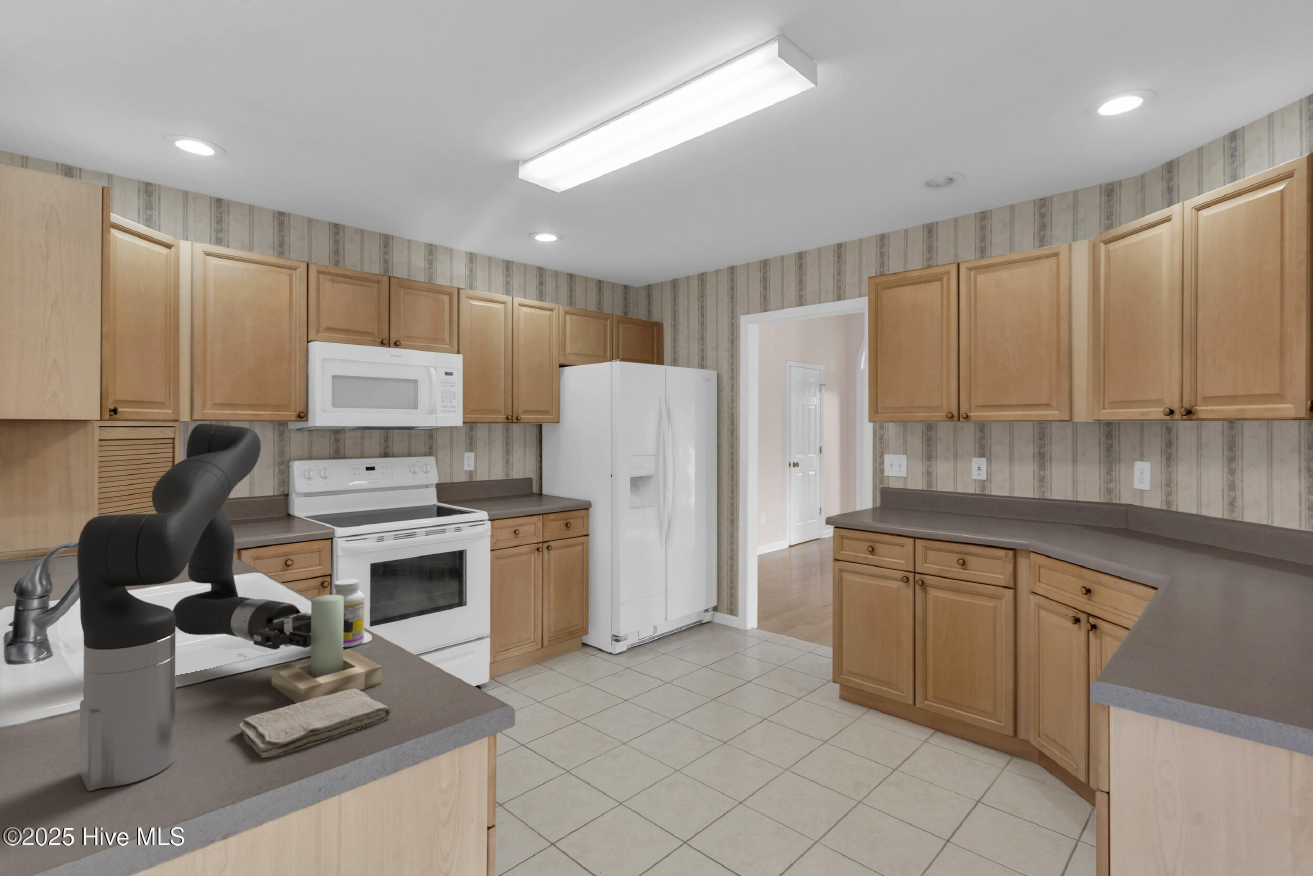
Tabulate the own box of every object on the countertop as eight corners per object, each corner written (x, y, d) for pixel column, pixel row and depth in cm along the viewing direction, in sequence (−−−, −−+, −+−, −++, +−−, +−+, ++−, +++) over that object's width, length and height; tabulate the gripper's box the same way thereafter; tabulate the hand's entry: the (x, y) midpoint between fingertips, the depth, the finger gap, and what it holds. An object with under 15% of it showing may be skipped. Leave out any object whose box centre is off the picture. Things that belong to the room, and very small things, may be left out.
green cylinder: (317, 692, 108) (318, 604, 107) (305, 684, 111) (306, 598, 111) (348, 684, 111) (348, 598, 111) (335, 676, 115) (336, 593, 114)
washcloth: (234, 737, 93) (234, 716, 93) (357, 699, 107) (358, 680, 107) (263, 766, 85) (263, 743, 85) (392, 721, 99) (392, 701, 99)
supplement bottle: (331, 639, 134) (332, 578, 134) (366, 636, 136) (366, 576, 136) (325, 650, 128) (326, 586, 127) (361, 647, 130) (362, 584, 129)
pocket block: (302, 707, 102) (302, 688, 102) (271, 685, 110) (271, 667, 110) (381, 683, 112) (381, 666, 112) (348, 664, 120) (348, 648, 120)
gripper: (227, 611, 110) (294, 623, 104) (301, 591, 123) (364, 601, 117) (227, 654, 110) (294, 669, 104) (300, 630, 123) (364, 642, 117)
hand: (331, 633), depth 111 cm, fingers open, 8 cm apart
